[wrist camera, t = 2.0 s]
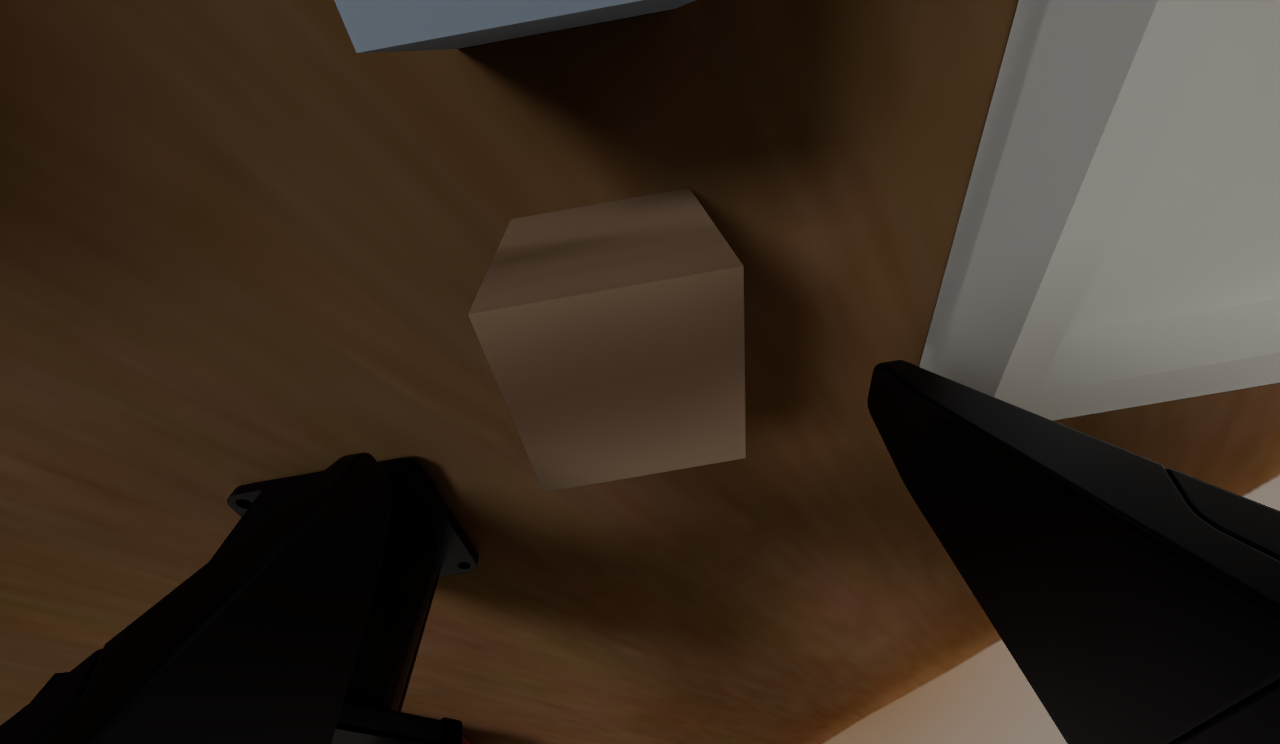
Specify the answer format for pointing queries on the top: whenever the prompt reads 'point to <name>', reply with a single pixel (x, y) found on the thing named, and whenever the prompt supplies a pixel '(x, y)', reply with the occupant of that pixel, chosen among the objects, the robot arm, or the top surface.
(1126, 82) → the tray
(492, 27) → the slate block
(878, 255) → the top surface
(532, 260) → the walnut block
